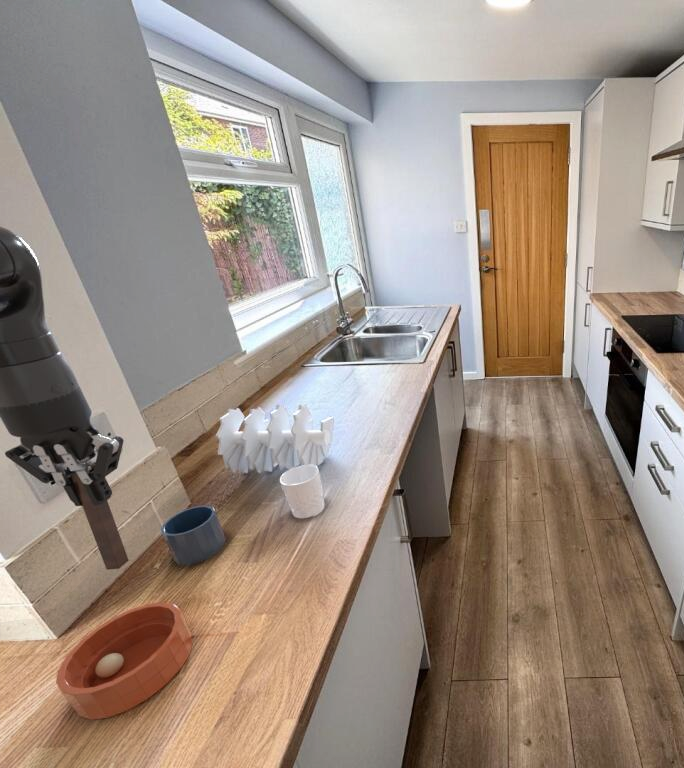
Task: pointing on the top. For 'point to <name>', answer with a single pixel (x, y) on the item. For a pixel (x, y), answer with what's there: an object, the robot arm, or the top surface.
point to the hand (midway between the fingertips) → (94, 501)
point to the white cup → (303, 490)
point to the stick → (102, 527)
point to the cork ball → (109, 665)
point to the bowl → (126, 660)
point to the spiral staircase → (272, 440)
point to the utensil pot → (193, 535)
